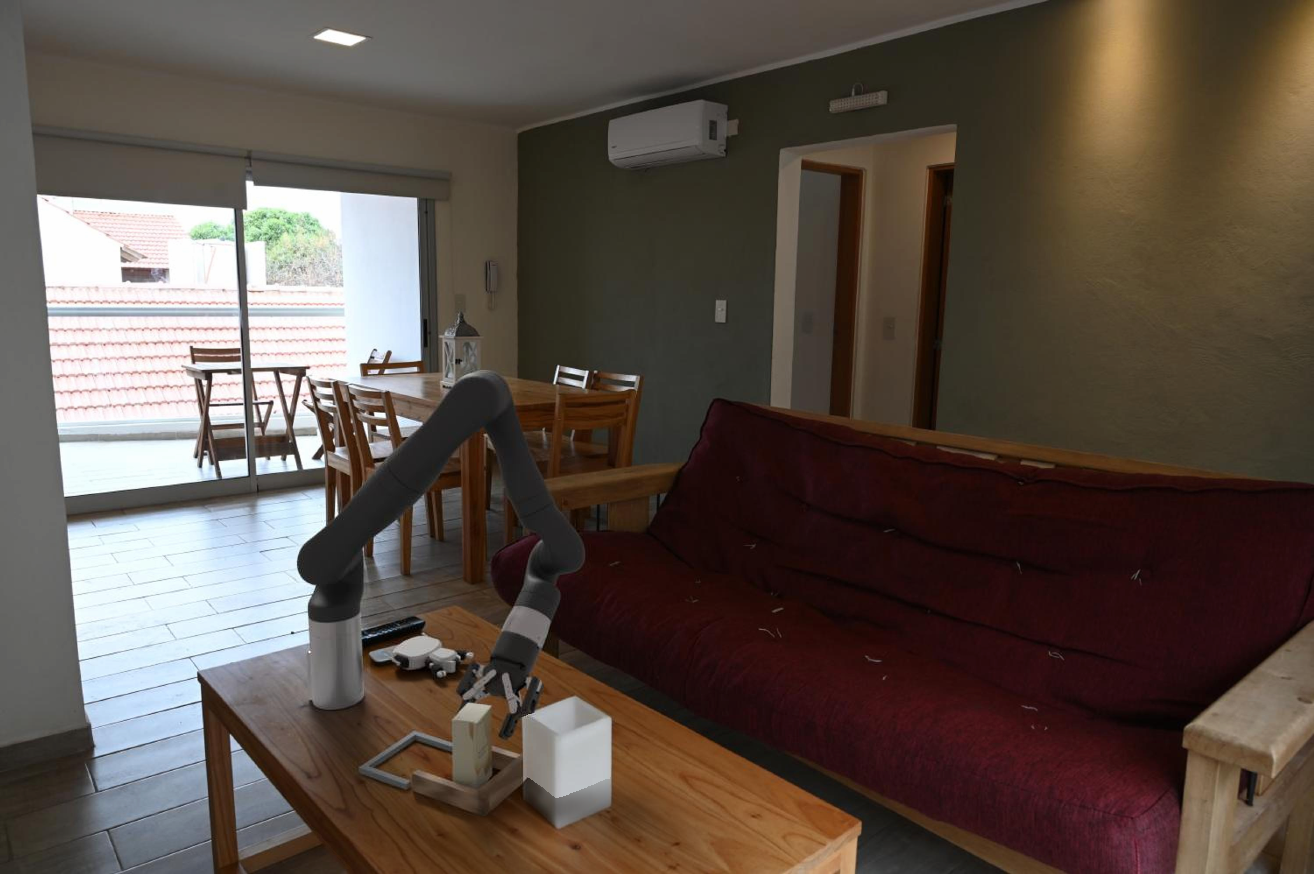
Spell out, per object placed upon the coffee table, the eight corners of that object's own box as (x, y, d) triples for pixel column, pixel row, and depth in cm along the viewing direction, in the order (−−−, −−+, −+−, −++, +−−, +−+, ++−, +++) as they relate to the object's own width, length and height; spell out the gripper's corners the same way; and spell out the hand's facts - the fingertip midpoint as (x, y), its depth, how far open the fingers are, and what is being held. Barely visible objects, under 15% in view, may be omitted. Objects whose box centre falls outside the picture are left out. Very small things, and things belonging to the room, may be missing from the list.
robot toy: (477, 666, 177) (419, 648, 183) (478, 646, 176) (420, 629, 182) (440, 691, 166) (381, 670, 172) (441, 670, 165) (381, 650, 171)
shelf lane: (412, 790, 132) (411, 767, 131) (463, 752, 143) (462, 731, 142) (484, 816, 126) (484, 792, 125) (531, 774, 137) (531, 752, 136)
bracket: (359, 772, 136) (358, 767, 136) (414, 735, 148) (414, 730, 147) (406, 789, 132) (406, 784, 132) (459, 750, 143) (459, 744, 143)
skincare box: (477, 796, 131) (476, 723, 128) (451, 792, 131) (450, 720, 129) (493, 773, 137) (492, 704, 135) (468, 769, 138) (467, 700, 136)
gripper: (477, 621, 143) (434, 713, 135) (548, 638, 137) (507, 735, 129) (497, 639, 149) (456, 728, 140) (565, 656, 143) (527, 750, 134)
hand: (481, 731), depth 135 cm, fingers open, 8 cm apart
